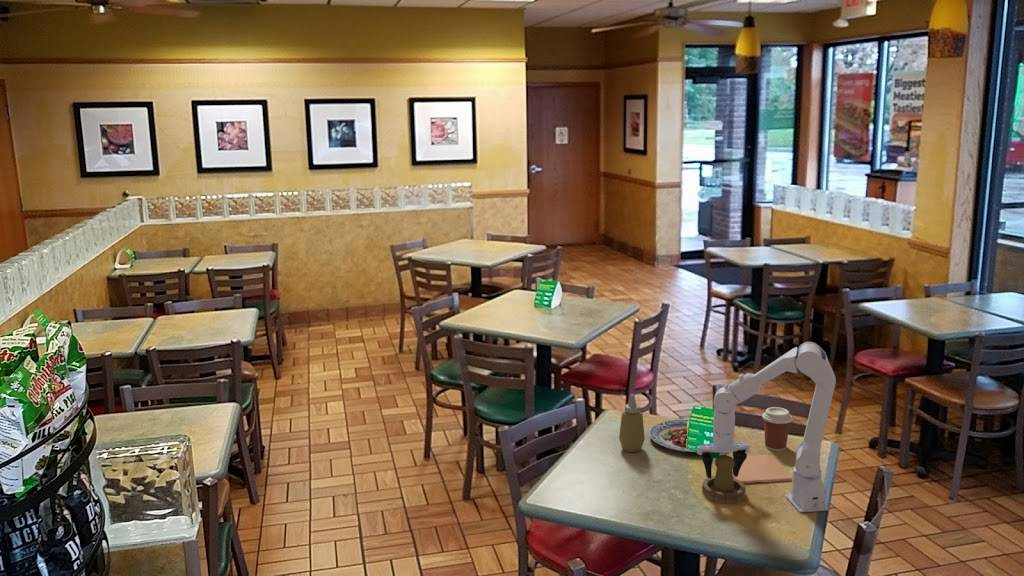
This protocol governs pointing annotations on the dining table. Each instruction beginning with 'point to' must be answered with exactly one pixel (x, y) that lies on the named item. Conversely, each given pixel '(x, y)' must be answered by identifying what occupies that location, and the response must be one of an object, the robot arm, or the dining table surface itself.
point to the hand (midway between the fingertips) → (721, 476)
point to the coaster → (761, 470)
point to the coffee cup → (776, 428)
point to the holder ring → (721, 496)
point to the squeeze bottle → (632, 427)
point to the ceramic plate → (671, 434)
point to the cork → (724, 474)
